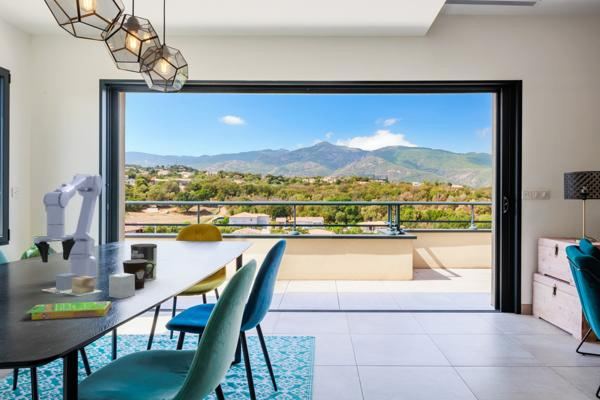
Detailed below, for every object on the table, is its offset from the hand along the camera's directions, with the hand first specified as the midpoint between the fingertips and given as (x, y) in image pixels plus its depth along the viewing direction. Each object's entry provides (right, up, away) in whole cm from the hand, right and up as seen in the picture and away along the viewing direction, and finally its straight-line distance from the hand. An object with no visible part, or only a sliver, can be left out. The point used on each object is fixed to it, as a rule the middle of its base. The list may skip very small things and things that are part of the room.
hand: (55, 261), depth 155 cm
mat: (+14, -10, -7) cm, 18 cm away
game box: (+23, -11, -33) cm, 41 cm away
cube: (+5, -10, -1) cm, 11 cm away
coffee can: (+26, -10, +19) cm, 33 cm away
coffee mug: (+30, -11, +2) cm, 32 cm away
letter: (+5, -10, -1) cm, 11 cm away
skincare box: (+29, -11, -11) cm, 33 cm away
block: (+14, -10, -7) cm, 18 cm away
